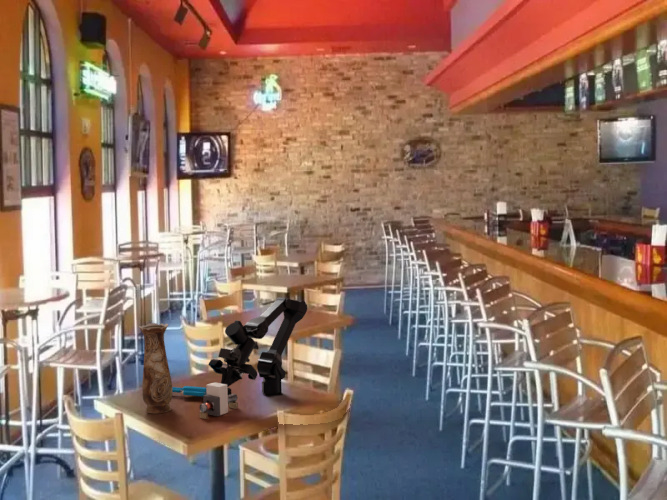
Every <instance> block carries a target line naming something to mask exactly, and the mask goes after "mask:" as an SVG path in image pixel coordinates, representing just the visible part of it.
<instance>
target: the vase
mask: <svg viewBox="0 0 667 500" xmlns="http://www.w3.org/2000/svg"><path fill="white" fill-rule="evenodd" d="M168 326H169V323H159V324H158V323H156V322H155V323H154V322H153V323H147V324H146V325H141V326H140V325H139V326H138V328H139V329H140V331H141V333H142V334H143V338H144V340H143V341H144V350H143V351H144V354H143V355H144V356H143V370H142V371H143V372H142V384H141V389H142V390H141V391H142V400H143V402H144V404H145V405H146V406H147V407H146V409H145V412H146V413H148V414H163V413H166V412H170V411H171V410H172V407H171V405H170V403H171V402H172V399H173V392H172V387H173V382H172V378H171V372H170V367H169V363H168V362H169V361H168V356H167V351H166V345H165V333H166V330H167V328H168Z"/></svg>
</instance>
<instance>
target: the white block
mask: <svg viewBox="0 0 667 500" xmlns="http://www.w3.org/2000/svg"><path fill="white" fill-rule="evenodd" d="M205 388H206V390H207V395H212V396H217V397H220V416H222V415H225V414H227V413H229V404H228V390H227V388H228V387H227V384H221V382H216V381H214V382H211V383H208V384H206V386H205ZM213 410H214V409H213Z"/></svg>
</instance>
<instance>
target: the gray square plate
mask: <svg viewBox="0 0 667 500" xmlns="http://www.w3.org/2000/svg"><path fill="white" fill-rule="evenodd" d="M202 399H203V402H202V403H203V404H204V403H205V404H206V403H208V402H210V401H214V410H213V409H212V410H211V409H210V410H207V411H206V412H208V415H209V416H214V417H220V416H221V415H220V397H217V396H212V395H207V394H206V395H203V397H202Z"/></svg>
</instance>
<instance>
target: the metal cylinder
mask: <svg viewBox="0 0 667 500" xmlns="http://www.w3.org/2000/svg"><path fill="white" fill-rule="evenodd" d="M238 403H239V402H238V395H237V393H232V394H231V395H228V409H234V410H236V409H238V408H239V404H238ZM210 409H211V410H212V409H214V401H210V402H208V403H206V404H205V403H204V402H203V403H201V404H200V405H199V412H198V413H199V417H198V418H199V419H203V420H208V419H209V418H208V417H209V416H208V415H209V414H208V412H206V411H207V410H210Z"/></svg>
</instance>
